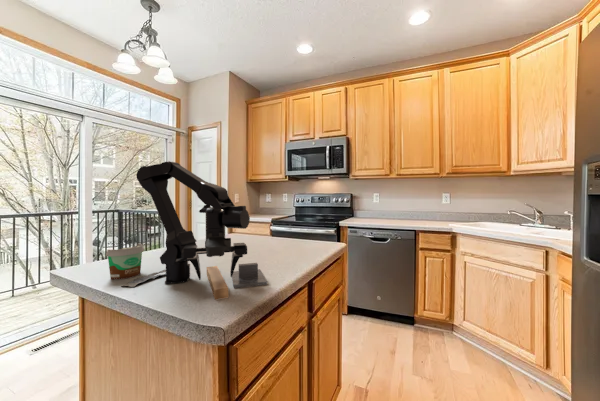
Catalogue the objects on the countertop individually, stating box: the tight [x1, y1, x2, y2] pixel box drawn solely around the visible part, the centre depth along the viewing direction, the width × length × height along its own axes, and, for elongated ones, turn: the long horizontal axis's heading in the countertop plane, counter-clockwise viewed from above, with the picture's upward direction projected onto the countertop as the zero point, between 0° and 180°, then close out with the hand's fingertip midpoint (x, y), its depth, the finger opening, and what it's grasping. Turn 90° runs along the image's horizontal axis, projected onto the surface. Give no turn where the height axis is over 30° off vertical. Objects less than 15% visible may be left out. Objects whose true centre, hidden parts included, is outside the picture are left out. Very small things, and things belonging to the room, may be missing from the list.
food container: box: [105, 243, 145, 280], centre depth 89 cm, size 12×6×10 cm, turn 164°
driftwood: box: [121, 269, 166, 288], centre depth 87 cm, size 21×7×2 cm, turn 159°
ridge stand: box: [231, 262, 268, 289], centre depth 85 cm, size 10×14×5 cm
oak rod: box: [206, 265, 229, 301], centre depth 80 cm, size 4×24×3 cm, turn 25°
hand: (215, 277), depth 80 cm, fingers open, 9 cm apart
